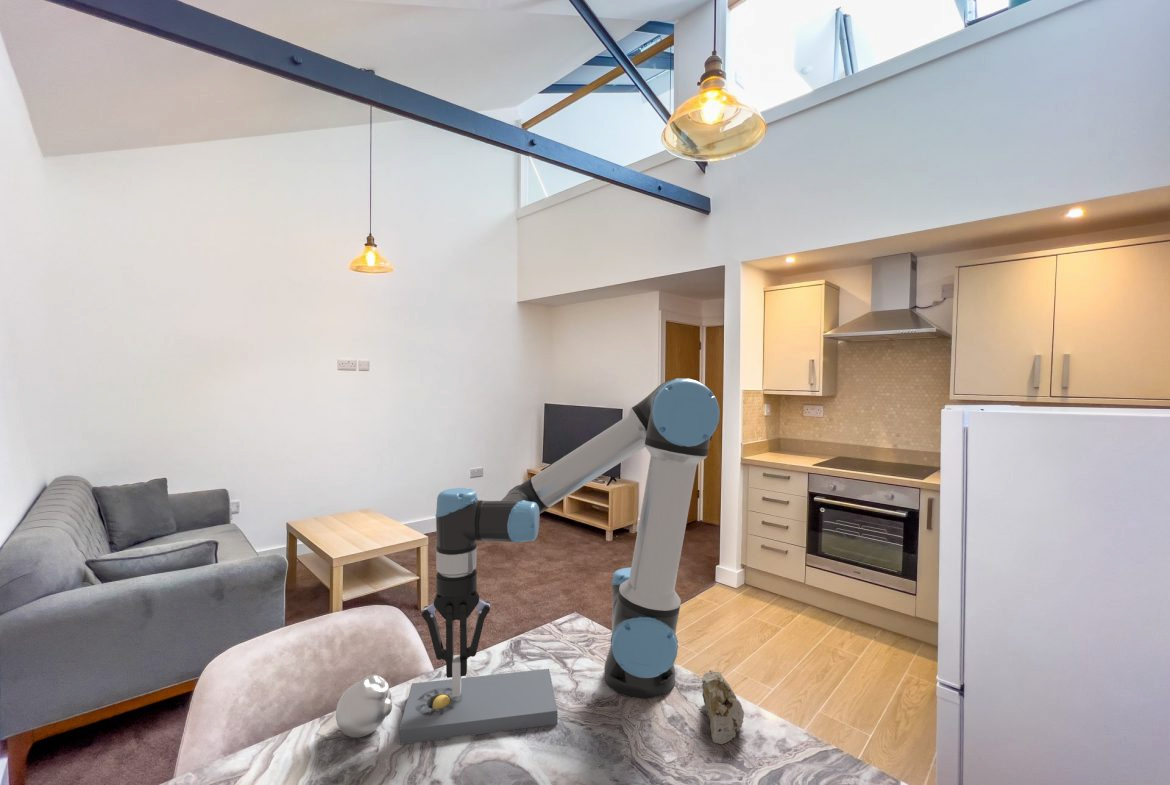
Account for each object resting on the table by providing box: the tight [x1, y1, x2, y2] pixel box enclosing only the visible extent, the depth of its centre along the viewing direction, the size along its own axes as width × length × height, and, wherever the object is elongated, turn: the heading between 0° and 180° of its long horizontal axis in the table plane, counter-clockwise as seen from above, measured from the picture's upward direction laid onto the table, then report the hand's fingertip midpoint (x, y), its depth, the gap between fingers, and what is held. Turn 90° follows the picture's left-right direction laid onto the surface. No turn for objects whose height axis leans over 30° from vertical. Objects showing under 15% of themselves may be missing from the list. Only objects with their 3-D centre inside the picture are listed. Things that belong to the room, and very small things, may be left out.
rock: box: [701, 669, 745, 745], centre depth 93 cm, size 12×7×10 cm, turn 172°
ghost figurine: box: [335, 674, 393, 738], centre depth 90 cm, size 9×10×10 cm
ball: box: [433, 695, 451, 709], centre depth 95 cm, size 3×3×3 cm
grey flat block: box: [398, 668, 559, 745], centre depth 97 cm, size 28×14×2 cm, turn 101°
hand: (456, 692), depth 96 cm, fingers closed
